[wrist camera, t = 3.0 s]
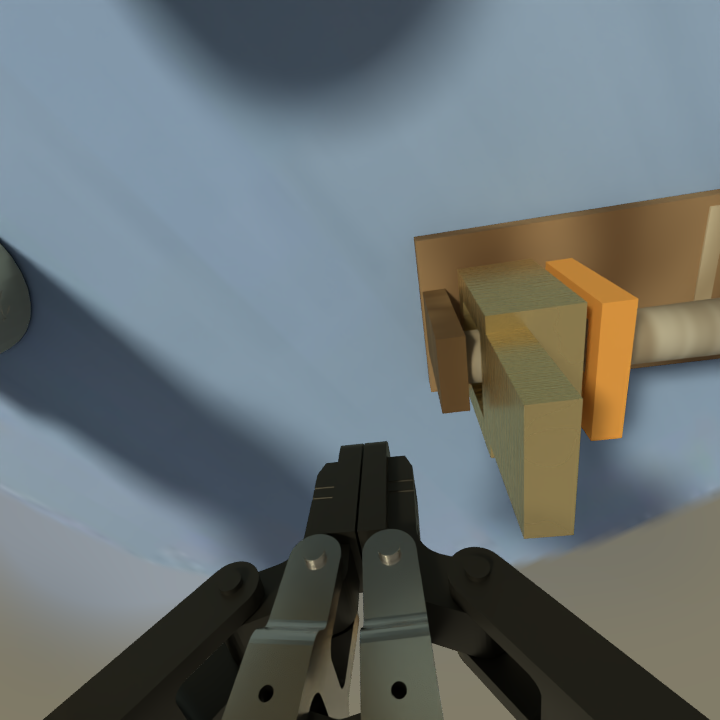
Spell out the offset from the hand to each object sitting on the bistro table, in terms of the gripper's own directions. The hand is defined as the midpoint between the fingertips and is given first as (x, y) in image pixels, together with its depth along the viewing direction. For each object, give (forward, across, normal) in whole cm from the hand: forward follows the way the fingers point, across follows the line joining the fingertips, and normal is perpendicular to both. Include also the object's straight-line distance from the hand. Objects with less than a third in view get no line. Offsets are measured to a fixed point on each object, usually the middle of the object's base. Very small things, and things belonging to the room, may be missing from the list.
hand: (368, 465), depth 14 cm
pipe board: (+13, -12, 0) cm, 17 cm away
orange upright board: (+10, -9, 0) cm, 14 cm away
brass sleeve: (+10, -6, 0) cm, 12 cm away
